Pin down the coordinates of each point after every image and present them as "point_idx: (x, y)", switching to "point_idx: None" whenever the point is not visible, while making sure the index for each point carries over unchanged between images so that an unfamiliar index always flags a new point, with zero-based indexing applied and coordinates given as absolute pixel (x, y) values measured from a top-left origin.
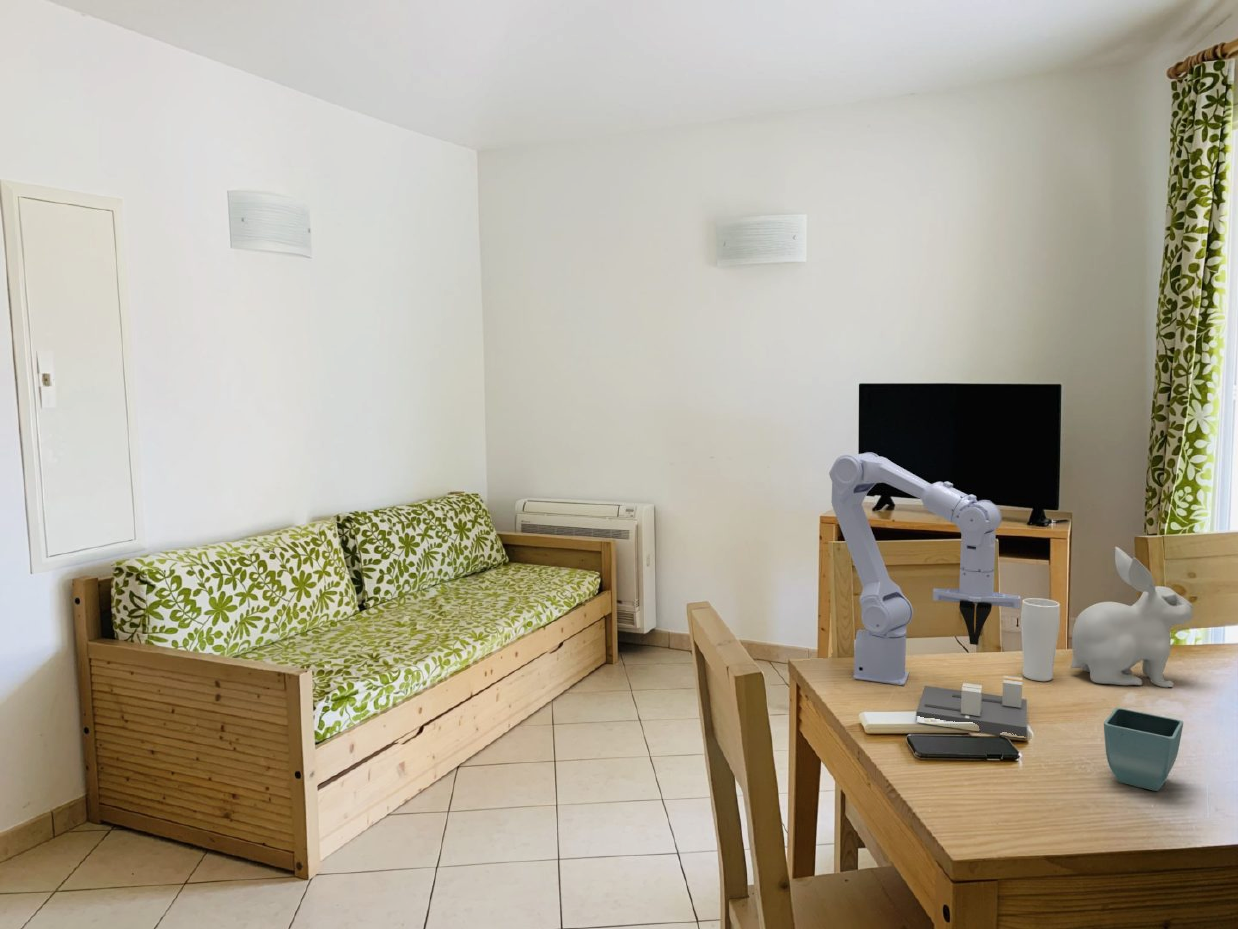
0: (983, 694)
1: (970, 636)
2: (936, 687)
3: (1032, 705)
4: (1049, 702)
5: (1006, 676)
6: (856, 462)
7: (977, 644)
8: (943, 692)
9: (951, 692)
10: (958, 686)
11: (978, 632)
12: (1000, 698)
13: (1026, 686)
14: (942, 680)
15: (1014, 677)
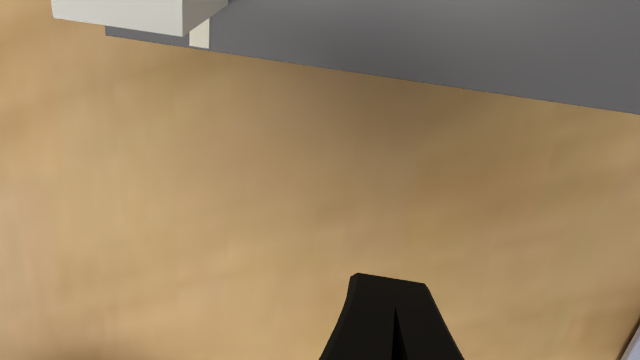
0: (330, 51)
1: (436, 333)
2: (591, 103)
3: (111, 106)
4: (48, 164)
5: (161, 21)
6: None
7: (356, 275)
8: (570, 20)
9: (518, 35)
10: (418, 269)
11: (346, 358)
12: (240, 6)
13: (147, 318)
14: (476, 323)
15: (105, 9)
